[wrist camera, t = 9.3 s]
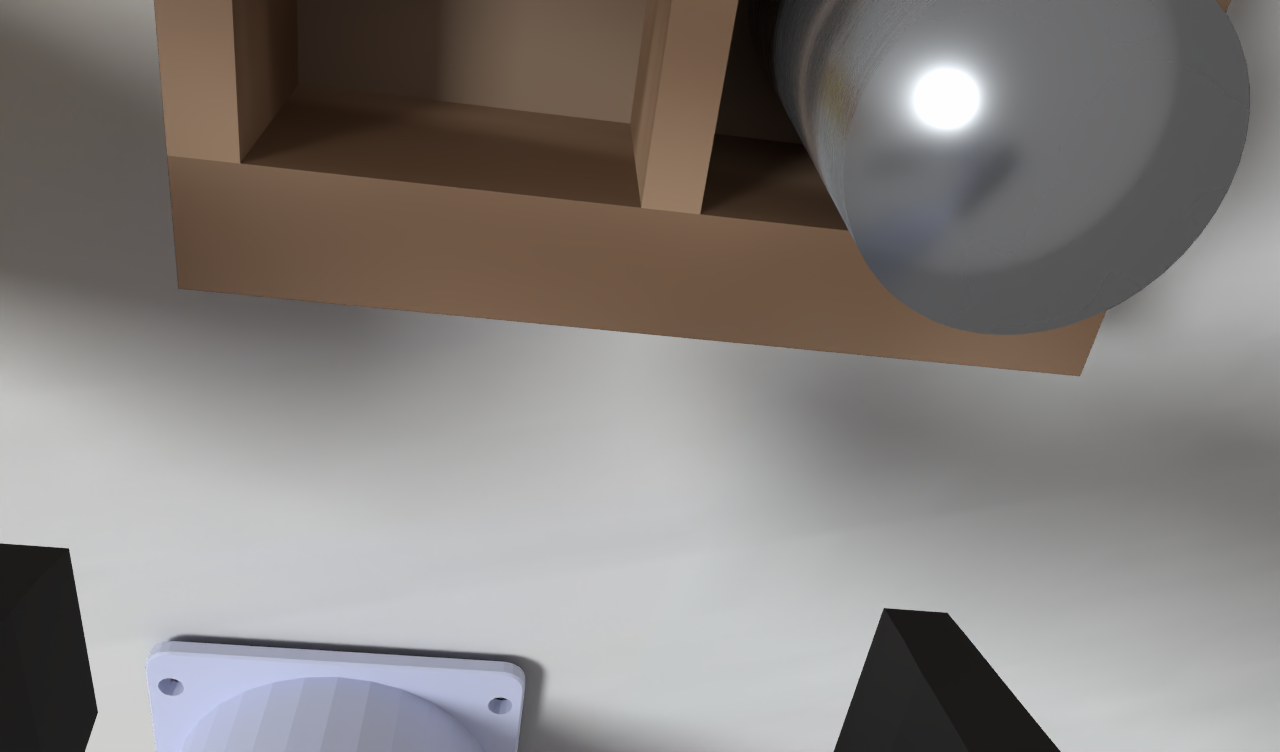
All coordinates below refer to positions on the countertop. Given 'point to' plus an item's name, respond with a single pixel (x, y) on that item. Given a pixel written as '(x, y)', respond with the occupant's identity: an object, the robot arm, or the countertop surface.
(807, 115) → the peg
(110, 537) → the countertop surface
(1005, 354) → the socket block
